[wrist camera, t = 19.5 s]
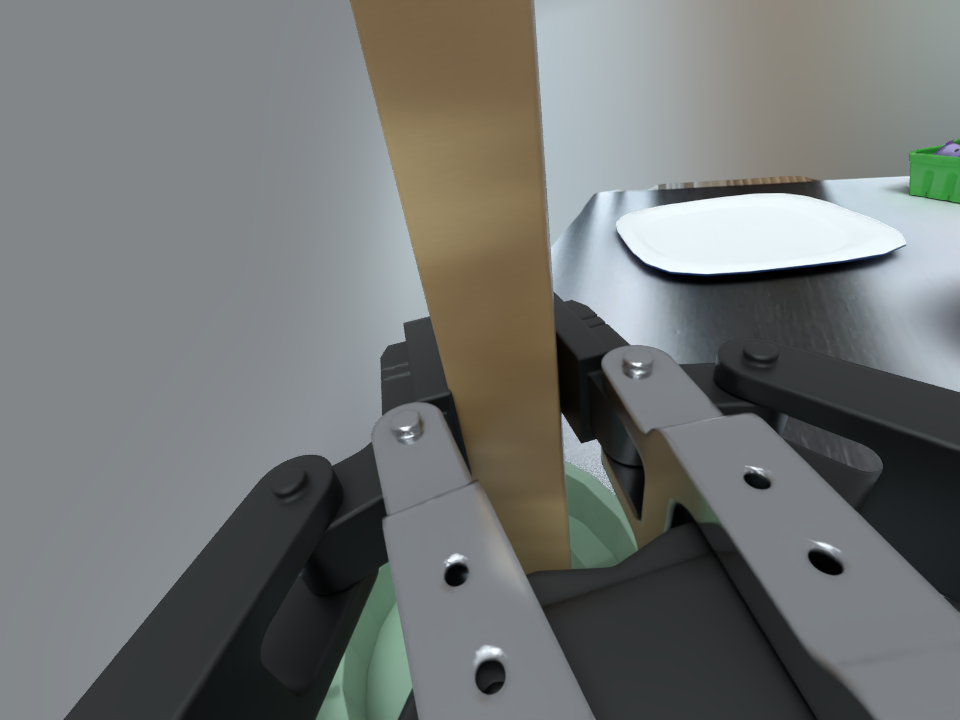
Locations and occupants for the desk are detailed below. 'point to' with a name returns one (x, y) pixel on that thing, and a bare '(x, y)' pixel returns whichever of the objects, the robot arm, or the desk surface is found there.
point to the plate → (753, 235)
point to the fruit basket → (936, 172)
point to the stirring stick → (481, 239)
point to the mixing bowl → (378, 634)
